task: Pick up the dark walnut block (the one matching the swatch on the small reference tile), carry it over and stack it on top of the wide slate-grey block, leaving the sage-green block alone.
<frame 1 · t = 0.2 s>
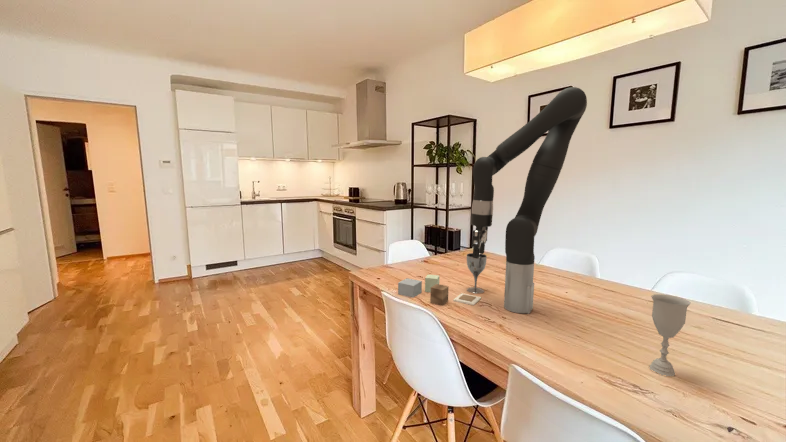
hand: (478, 255, 120), 18 cm above the table, tool pointing down, fingers open, 8 cm apart
reference tile: (467, 299, 124), on the table
grey base block: (409, 293, 131), on the table
sage block: (432, 290, 134), on the table
wine glass: (475, 290, 134), on the table
chalice: (662, 371, 78), on the table
walnut block: (439, 302, 121), on the table
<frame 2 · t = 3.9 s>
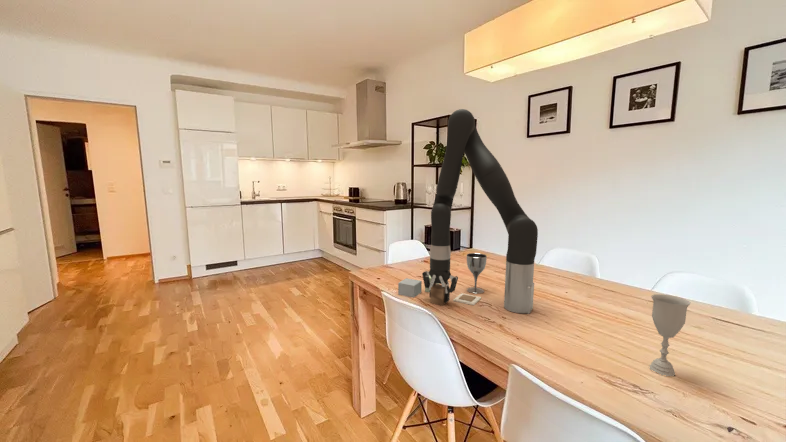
hand: (439, 300, 121), 1 cm above the table, tool pointing down, fingers closed on walnut block, 5 cm apart
walnut block: (439, 302, 121), on the table, touching gripper
everything else where it was.
when the fingers open (7 cm above the table, at t = 8.3 s): walnut block drops 2 cm, resting on grey base block.
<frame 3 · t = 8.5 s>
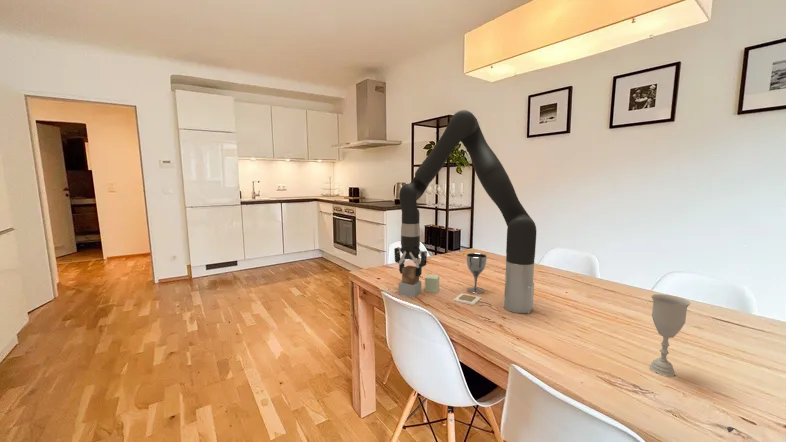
hand: (410, 274, 130), 8 cm above the table, tool pointing down, fingers open, 7 cm apart
grey base block: (409, 293, 131), on the table, touching walnut block
walnut block: (410, 282, 130), point 5 cm above the table, touching grey base block
everything else where it was.
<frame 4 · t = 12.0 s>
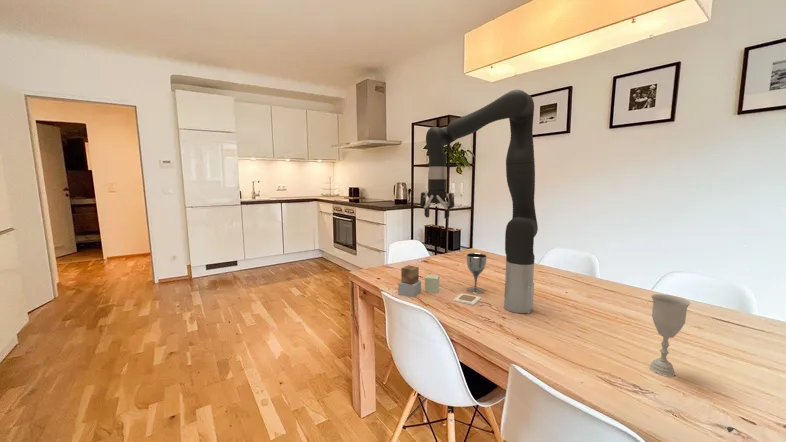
hand: (436, 217, 133), 30 cm above the table, tool pointing down, fingers open, 8 cm apart
nothing on the table moved.
at the end: walnut block 0.4 cm off-centre on the grey base block, point 5.0 cm above the grey base block's base; walnut block tilted 0°; the gripper is holding nothing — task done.
